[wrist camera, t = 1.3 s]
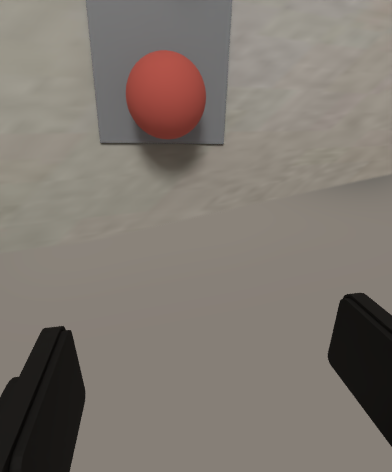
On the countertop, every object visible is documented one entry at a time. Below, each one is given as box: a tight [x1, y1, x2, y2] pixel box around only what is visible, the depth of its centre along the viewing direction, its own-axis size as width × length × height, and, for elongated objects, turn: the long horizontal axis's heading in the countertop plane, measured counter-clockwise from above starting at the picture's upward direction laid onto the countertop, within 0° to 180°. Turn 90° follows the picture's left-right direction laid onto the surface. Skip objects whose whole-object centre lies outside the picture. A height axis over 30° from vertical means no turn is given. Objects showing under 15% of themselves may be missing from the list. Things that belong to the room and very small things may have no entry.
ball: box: [126, 50, 206, 139], centre depth 21 cm, size 6×6×6 cm
